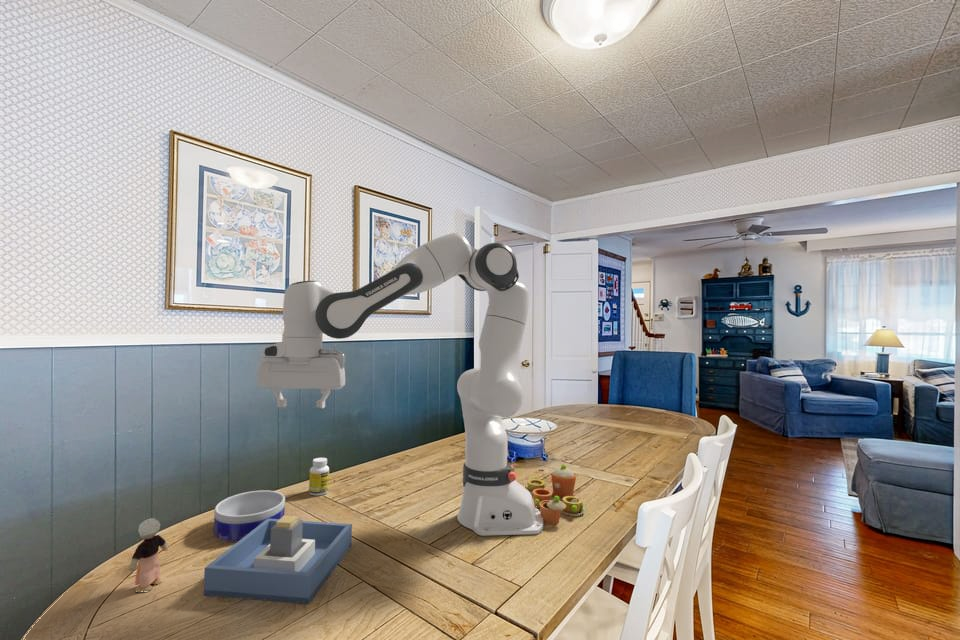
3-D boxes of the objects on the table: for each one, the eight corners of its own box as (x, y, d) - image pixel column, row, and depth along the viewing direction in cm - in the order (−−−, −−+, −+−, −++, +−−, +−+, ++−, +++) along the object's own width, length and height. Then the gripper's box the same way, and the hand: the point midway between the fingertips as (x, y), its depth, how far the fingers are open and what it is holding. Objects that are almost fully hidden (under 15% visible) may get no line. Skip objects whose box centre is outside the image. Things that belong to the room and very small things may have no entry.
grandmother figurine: (149, 575, 83) (152, 510, 83) (170, 575, 84) (172, 510, 84) (120, 601, 76) (122, 529, 76) (142, 600, 76) (145, 529, 76)
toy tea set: (521, 488, 134) (522, 457, 134) (570, 488, 135) (570, 458, 135) (537, 528, 108) (538, 490, 108) (597, 528, 109) (597, 490, 109)
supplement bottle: (321, 497, 123) (322, 463, 123) (305, 495, 124) (306, 461, 124) (332, 490, 128) (333, 457, 128) (315, 488, 129) (316, 455, 129)
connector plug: (301, 558, 89) (302, 515, 89) (290, 570, 85) (292, 524, 85) (281, 556, 89) (282, 513, 89) (269, 568, 85) (271, 523, 85)
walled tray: (351, 546, 96) (351, 524, 96) (308, 603, 76) (309, 575, 76) (267, 540, 98) (267, 518, 98) (203, 595, 78) (204, 567, 78)
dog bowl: (250, 547, 95) (251, 520, 95) (197, 536, 99) (198, 510, 99) (297, 518, 110) (298, 494, 110) (250, 509, 114) (250, 486, 114)
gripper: (350, 349, 103) (349, 406, 103) (269, 347, 104) (267, 403, 104) (340, 350, 97) (338, 411, 97) (253, 349, 98) (252, 408, 98)
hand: (301, 407), depth 101 cm, fingers open, 8 cm apart
